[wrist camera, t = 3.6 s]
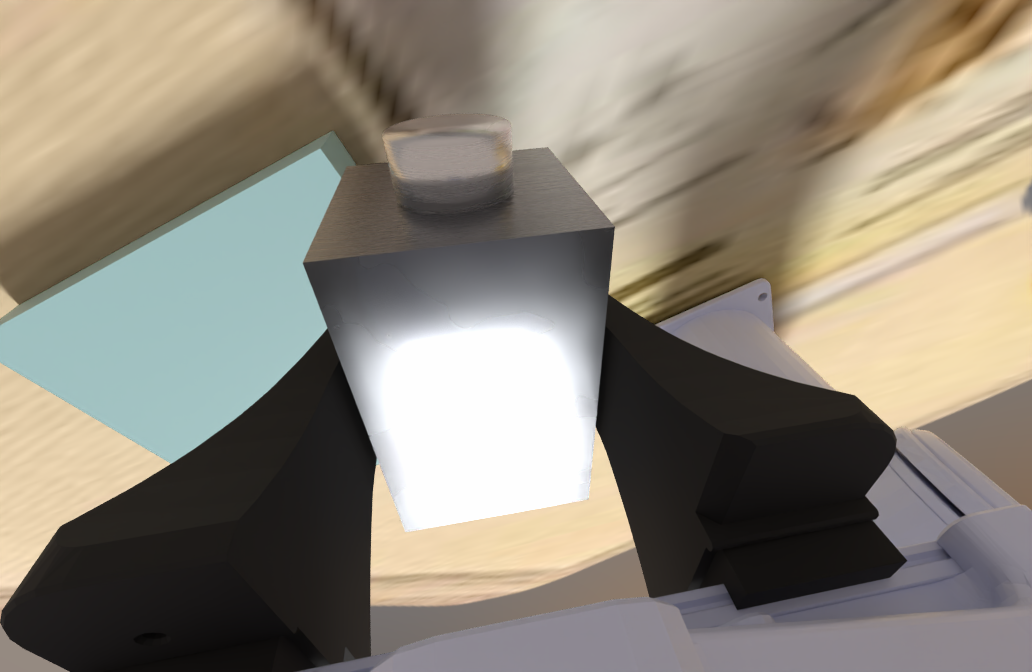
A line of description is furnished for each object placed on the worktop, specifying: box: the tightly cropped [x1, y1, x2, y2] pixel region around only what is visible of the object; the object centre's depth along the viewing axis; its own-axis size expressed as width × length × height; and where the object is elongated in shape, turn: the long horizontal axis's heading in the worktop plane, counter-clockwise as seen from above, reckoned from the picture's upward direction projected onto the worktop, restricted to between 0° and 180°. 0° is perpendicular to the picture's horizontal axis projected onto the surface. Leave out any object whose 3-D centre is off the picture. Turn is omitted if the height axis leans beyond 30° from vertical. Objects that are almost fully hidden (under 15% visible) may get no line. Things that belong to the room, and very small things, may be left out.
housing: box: [303, 114, 615, 532], centre depth 11 cm, size 9×5×5 cm, turn 3°
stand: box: [0, 131, 379, 465], centre depth 20 cm, size 14×15×2 cm
